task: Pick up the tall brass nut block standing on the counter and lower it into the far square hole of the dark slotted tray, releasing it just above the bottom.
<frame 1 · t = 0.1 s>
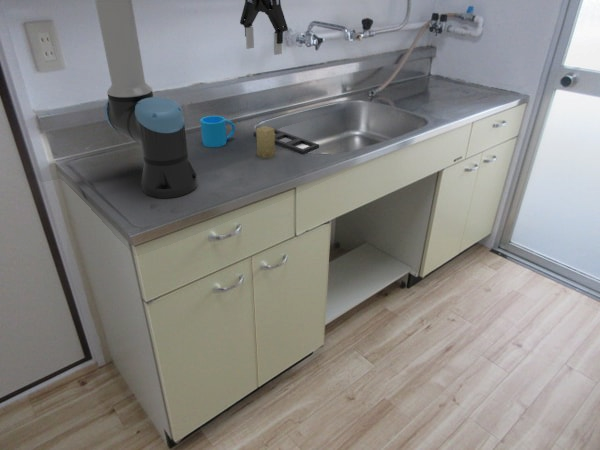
hand: (263, 51, 152), 28 cm above the worktop, fingers open, 13 cm apart
mug: (219, 142, 158), on the worktop
dark slotted tray: (285, 141, 158), on the worktop
nut block: (266, 155, 148), on the worktop
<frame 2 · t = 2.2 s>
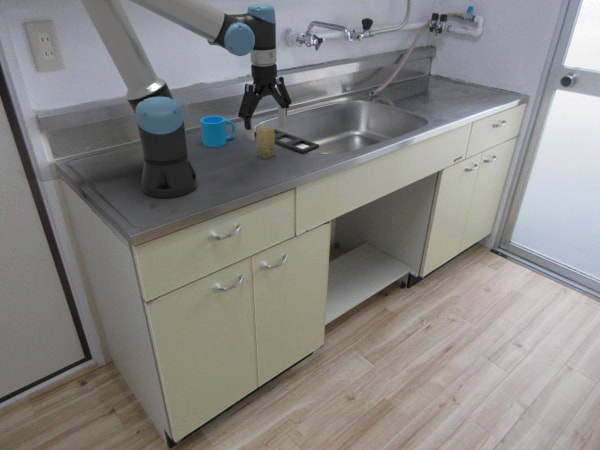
hand: (266, 133, 144), 7 cm above the worktop, fingers open, 13 cm apart
nothing on the worktop moved.
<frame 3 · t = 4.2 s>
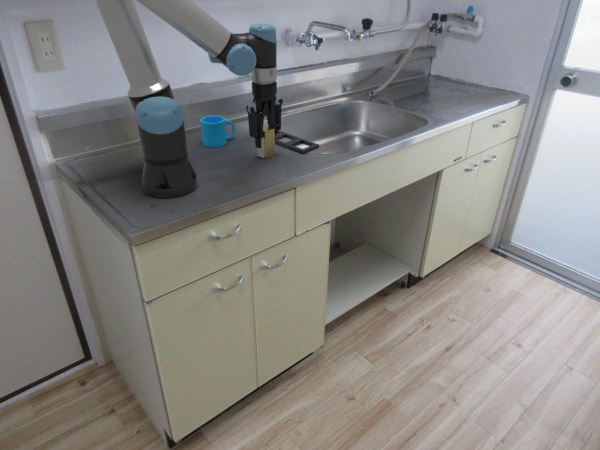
hand: (266, 154, 148), 0 cm above the worktop, fingers closed on nut block, 4 cm apart
nut block: (266, 155, 148), on the worktop, touching gripper
everything else where it was.
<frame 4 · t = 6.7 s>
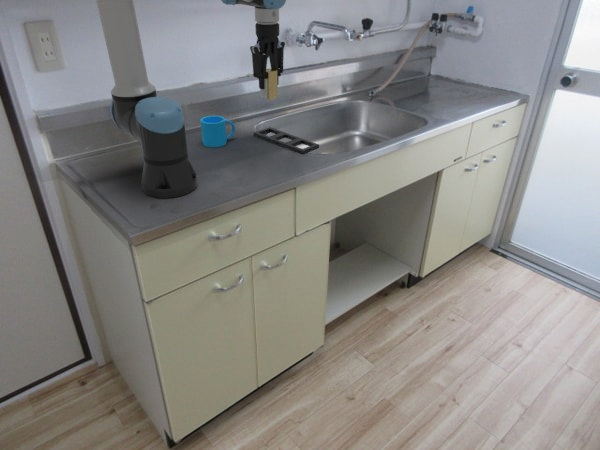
hand: (269, 96, 156), 14 cm above the worktop, fingers closed on nut block, 4 cm apart
nut block: (269, 97, 156), point 14 cm above the worktop, touching gripper
everything else where it was.
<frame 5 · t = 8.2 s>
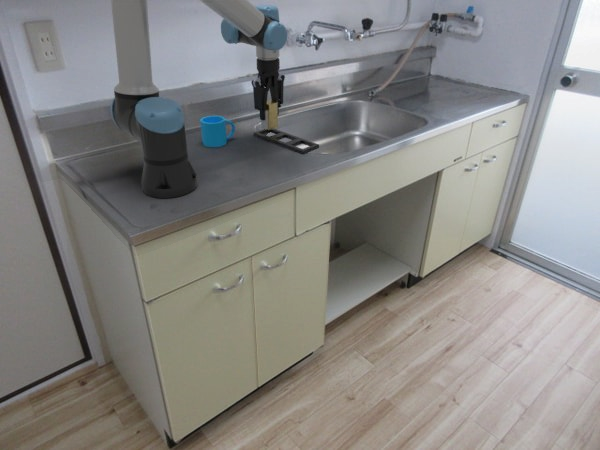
hand: (269, 126, 161), 3 cm above the worktop, fingers closed on nut block, 4 cm apart
nut block: (269, 127, 161), point 3 cm above the worktop, touching gripper
everything else where it was.
when the fingers open (2 cm above the worktop, at t = 9.3 s): nut block drops 1 cm, resting in dark slotted tray.
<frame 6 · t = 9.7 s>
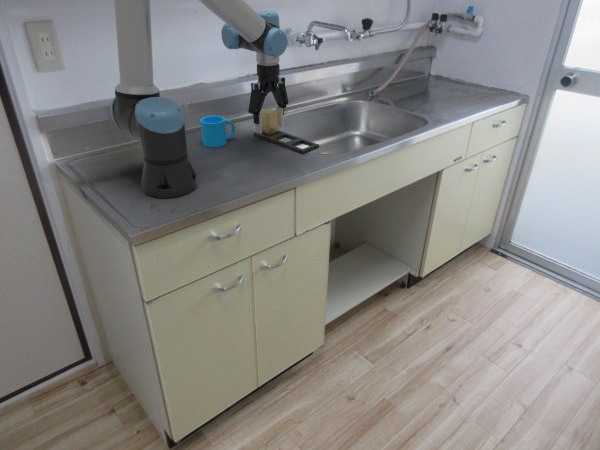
hand: (269, 128, 162), 3 cm above the worktop, fingers open, 9 cm apart
nut block: (269, 135, 163), resting in dark slotted tray
everything else where it was.
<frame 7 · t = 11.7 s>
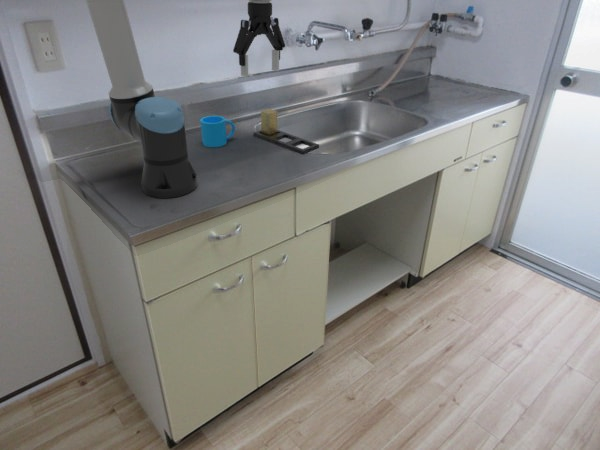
hand: (260, 73, 150), 22 cm above the worktop, fingers open, 13 cm apart
nothing on the worktop moved.
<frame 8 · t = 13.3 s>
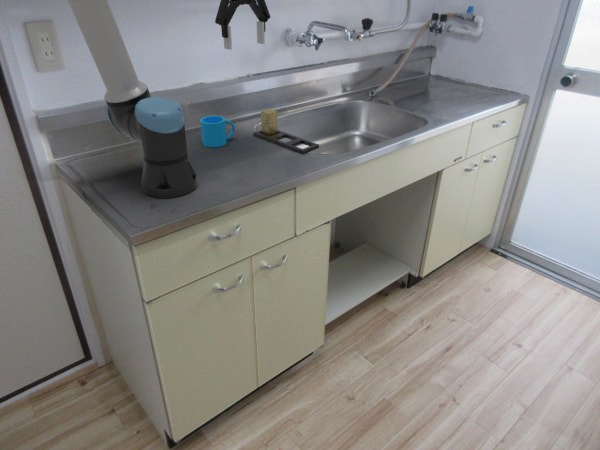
hand: (245, 46, 144), 31 cm above the worktop, fingers open, 13 cm apart
nothing on the worktop moved.
at the end: nut block 0.0 cm from the target spot on the dark slotted tray, point 0.0 cm above the dark slotted tray's base; nut block tilted 0°; the gripper is holding nothing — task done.
